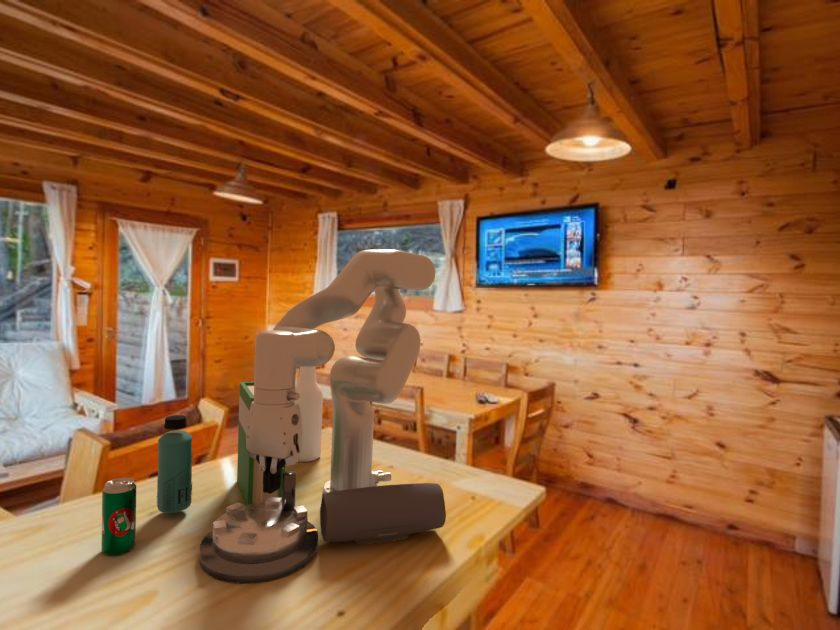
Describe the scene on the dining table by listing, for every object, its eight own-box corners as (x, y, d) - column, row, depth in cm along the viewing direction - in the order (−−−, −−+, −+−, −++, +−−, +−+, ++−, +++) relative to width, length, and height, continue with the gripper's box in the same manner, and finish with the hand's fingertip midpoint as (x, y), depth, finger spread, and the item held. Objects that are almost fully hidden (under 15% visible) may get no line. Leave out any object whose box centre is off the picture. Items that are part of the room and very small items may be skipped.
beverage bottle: (177, 522, 96) (179, 422, 95) (148, 518, 97) (149, 418, 96) (198, 508, 102) (201, 414, 101) (171, 504, 103) (173, 411, 102)
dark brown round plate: (306, 517, 100) (307, 506, 100) (328, 569, 82) (329, 556, 82) (200, 532, 92) (200, 520, 92) (198, 594, 74) (198, 580, 74)
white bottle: (324, 453, 140) (328, 348, 138) (315, 463, 131) (319, 352, 130) (294, 450, 140) (298, 347, 139) (283, 461, 132) (287, 350, 130)
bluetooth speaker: (429, 520, 102) (431, 473, 101) (445, 542, 93) (448, 491, 92) (318, 533, 94) (320, 482, 94) (325, 559, 86) (327, 503, 85)
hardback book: (283, 506, 105) (287, 396, 104) (247, 512, 101) (250, 398, 100) (268, 477, 120) (271, 380, 119) (237, 481, 117) (239, 382, 116)
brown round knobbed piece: (325, 532, 90) (327, 480, 90) (256, 574, 76) (258, 512, 76) (264, 509, 98) (265, 461, 98) (192, 543, 84) (193, 488, 84)
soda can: (111, 541, 88) (112, 476, 87) (140, 542, 88) (141, 476, 88) (95, 557, 83) (96, 487, 82) (126, 557, 83) (127, 488, 82)
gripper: (319, 396, 93) (315, 490, 94) (255, 388, 99) (253, 477, 100) (296, 404, 86) (292, 506, 87) (229, 394, 92) (226, 490, 93)
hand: (271, 490), depth 93 cm, fingers closed
